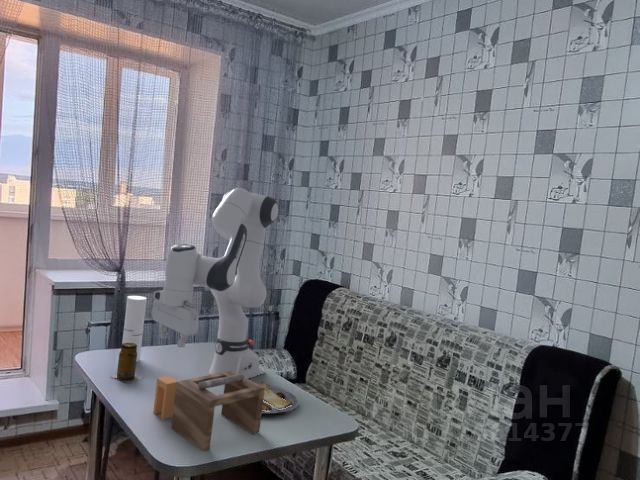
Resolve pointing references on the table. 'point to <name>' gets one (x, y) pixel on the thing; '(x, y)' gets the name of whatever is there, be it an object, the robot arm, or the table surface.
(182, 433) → the wooden slider frame
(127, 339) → the cylindrical container
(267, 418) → the table surface
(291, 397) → the food plate
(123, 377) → the condiment
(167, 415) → the orange forked block
